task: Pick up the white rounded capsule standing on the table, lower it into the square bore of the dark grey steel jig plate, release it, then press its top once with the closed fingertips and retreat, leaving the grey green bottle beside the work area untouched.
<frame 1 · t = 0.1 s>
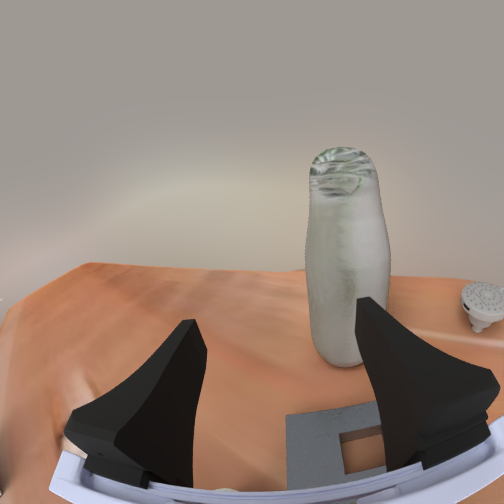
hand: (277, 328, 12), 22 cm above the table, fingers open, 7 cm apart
jig: (363, 457, 21), on the table
showerhead: (478, 329, 32), on the table
grey green bottle: (345, 355, 36), on the table
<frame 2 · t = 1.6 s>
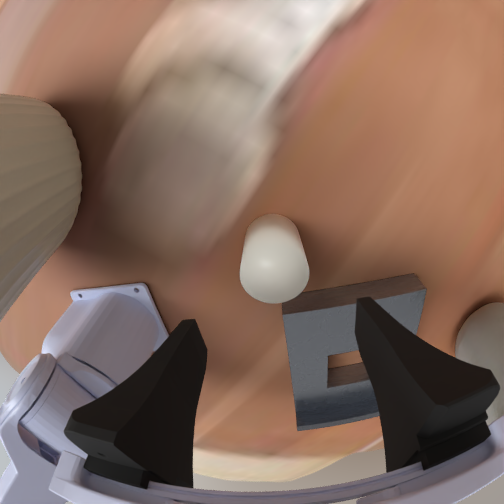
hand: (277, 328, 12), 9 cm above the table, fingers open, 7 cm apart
jig: (348, 349, 25), on the table
grey green bottle: (473, 320, 24), on the table
white rounded capsule: (272, 239, 20), on the table
canister: (40, 172, 18), on the table
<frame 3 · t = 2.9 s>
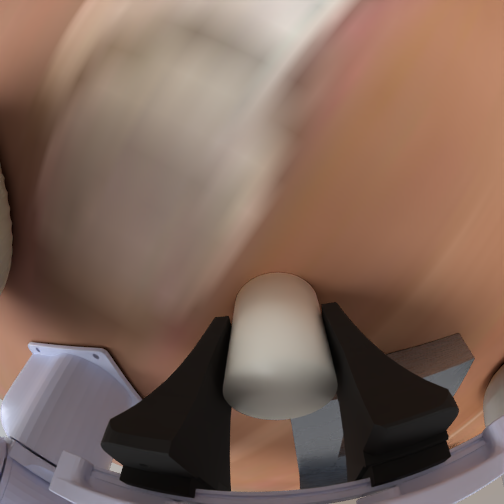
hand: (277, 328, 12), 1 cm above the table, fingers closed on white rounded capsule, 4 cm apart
jig: (366, 415, 18), on the table
white rounded capsule: (276, 308, 13), on the table, touching gripper
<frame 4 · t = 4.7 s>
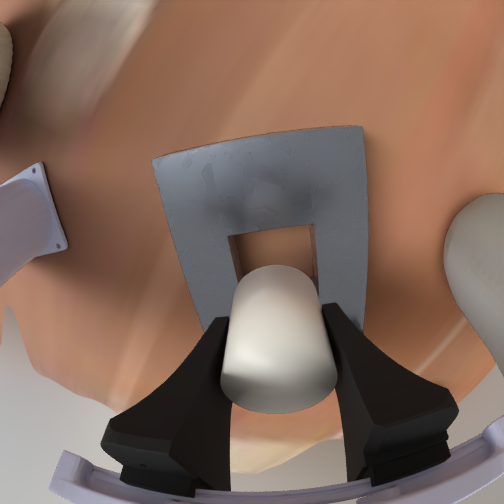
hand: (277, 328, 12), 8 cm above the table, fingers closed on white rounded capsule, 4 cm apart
jig: (274, 250, 19), on the table
grey green bottle: (466, 232, 18), on the table
white rounded capsule: (275, 301, 13), point 7 cm above the table, touching gripper
when the fingers open (3 cm above the table, at t = 6.5 s): white rounded capsule drops 1 cm, resting in jig.
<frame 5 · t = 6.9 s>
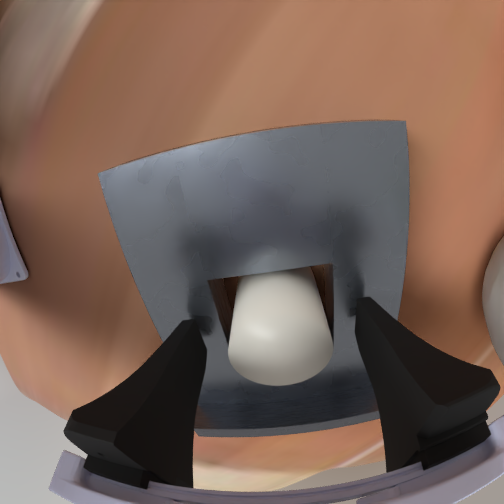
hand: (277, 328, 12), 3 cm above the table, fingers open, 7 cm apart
jig: (275, 289, 14), on the table
white rounded capsule: (276, 284, 14), resting in jig
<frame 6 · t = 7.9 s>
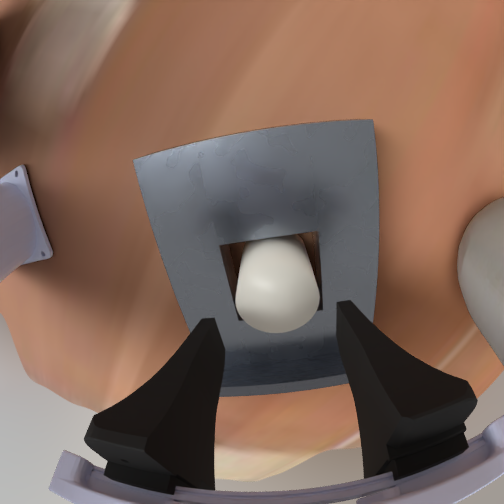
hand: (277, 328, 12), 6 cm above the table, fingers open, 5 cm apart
jig: (273, 259, 17), on the table
grey green bottle: (479, 238, 16), on the table
white rounded capsule: (274, 254, 17), resting in jig
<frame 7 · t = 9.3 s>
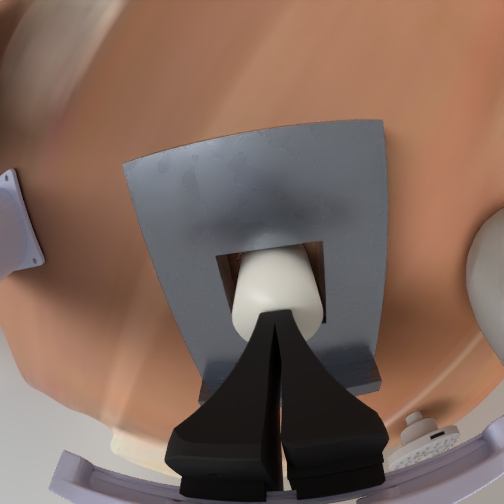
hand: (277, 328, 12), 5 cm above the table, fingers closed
jig: (274, 268, 16), on the table
showerhead: (412, 415, 26), on the table
grey green bottle: (488, 244, 15), on the table
white rounded capsule: (274, 264, 16), resting in jig
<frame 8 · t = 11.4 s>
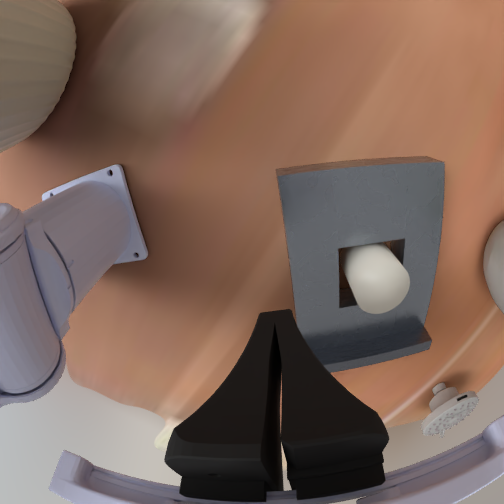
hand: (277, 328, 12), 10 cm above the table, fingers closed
jig: (362, 259, 21), on the table
showerhead: (437, 387, 30), on the table
grey green bottle: (497, 242, 20), on the table
white rounded capsule: (363, 255, 21), resting in jig
canister: (34, 71, 14), on the table
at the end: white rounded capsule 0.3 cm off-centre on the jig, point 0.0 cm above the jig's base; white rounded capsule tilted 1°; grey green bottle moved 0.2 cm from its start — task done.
